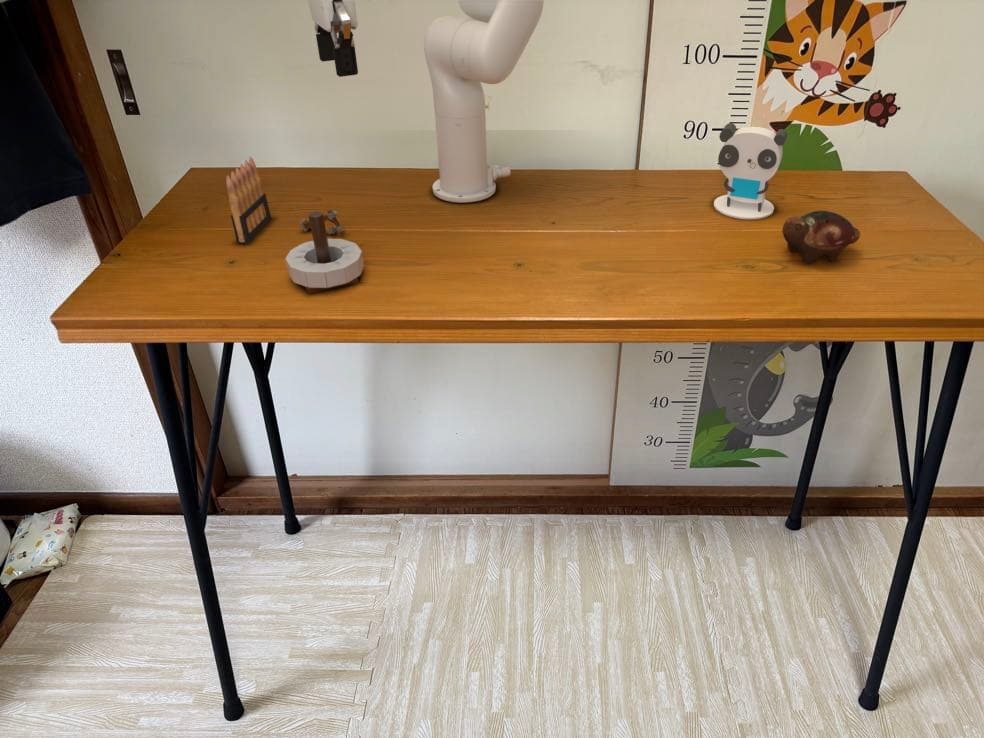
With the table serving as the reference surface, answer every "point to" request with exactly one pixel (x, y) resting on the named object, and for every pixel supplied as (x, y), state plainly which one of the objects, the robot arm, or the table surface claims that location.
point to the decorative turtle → (819, 235)
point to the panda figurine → (748, 170)
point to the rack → (321, 246)
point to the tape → (328, 274)
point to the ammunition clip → (247, 202)
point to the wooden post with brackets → (331, 214)
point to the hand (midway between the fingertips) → (338, 67)
